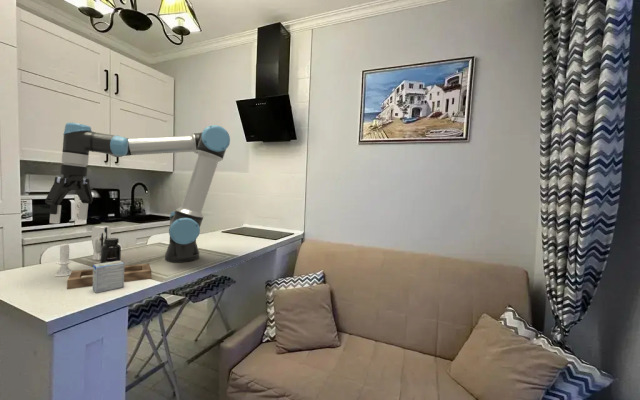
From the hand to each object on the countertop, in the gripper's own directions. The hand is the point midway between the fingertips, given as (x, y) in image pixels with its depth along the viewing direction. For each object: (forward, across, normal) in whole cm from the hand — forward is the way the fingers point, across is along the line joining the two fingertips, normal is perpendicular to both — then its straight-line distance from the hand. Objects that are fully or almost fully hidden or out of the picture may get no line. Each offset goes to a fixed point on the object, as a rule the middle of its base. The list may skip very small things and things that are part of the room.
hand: (69, 221), depth 105 cm
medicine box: (+20, +13, +23) cm, 33 cm away
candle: (+21, 0, 0) cm, 21 cm away
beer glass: (+20, -23, -1) cm, 31 cm away
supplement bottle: (+20, -11, +10) cm, 25 cm away
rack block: (+19, +4, +19) cm, 27 cm away
